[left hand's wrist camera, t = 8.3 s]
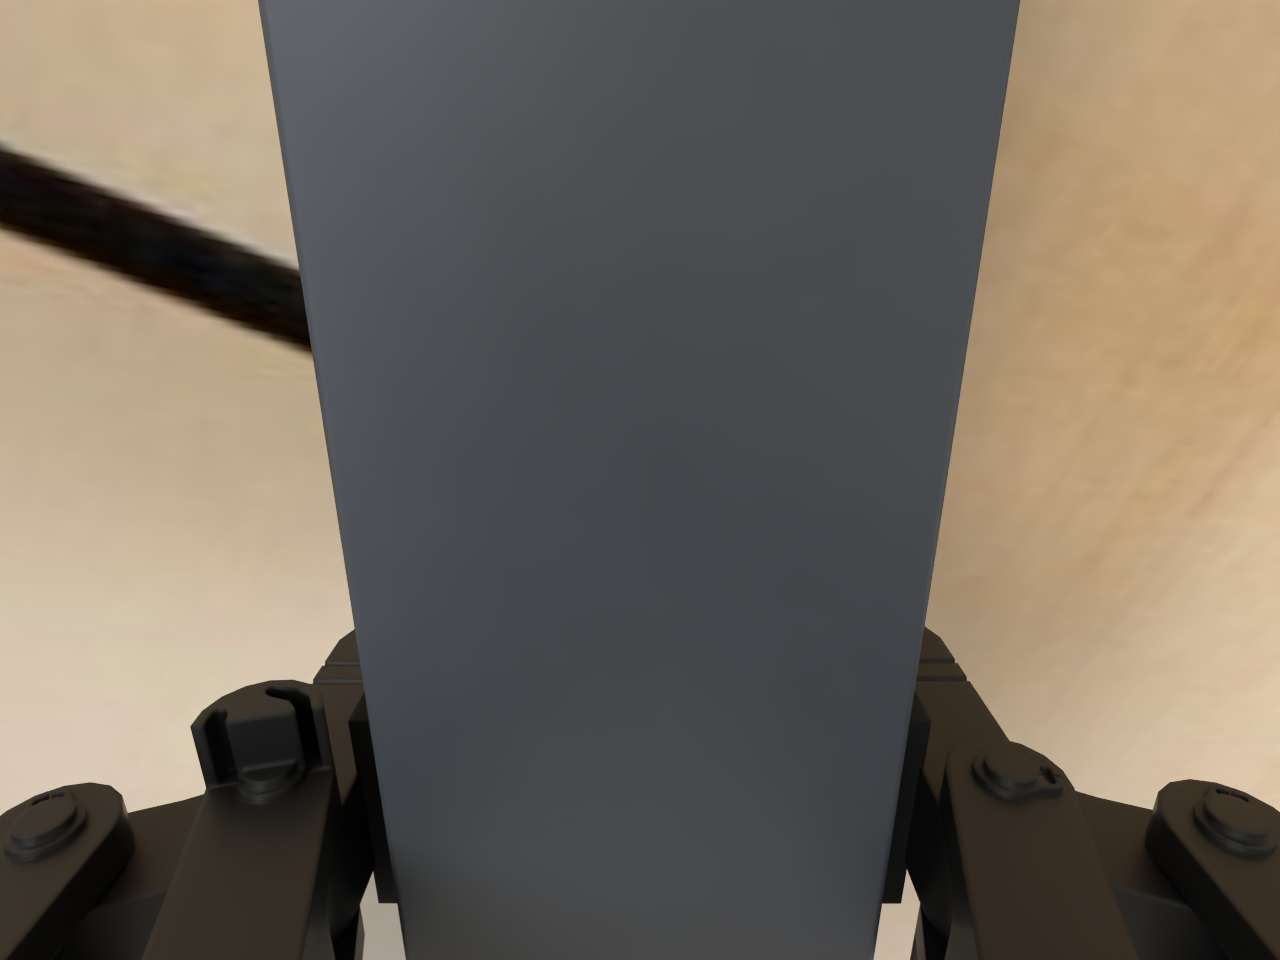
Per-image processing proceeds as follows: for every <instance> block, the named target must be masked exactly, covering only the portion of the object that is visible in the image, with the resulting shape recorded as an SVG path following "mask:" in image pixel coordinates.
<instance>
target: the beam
mask: <svg viewBox="0 0 1280 960" xmlns="http://www.w3.org/2000/svg"><path fill="white" fill-rule="evenodd" d="M258 3H259V9H260V16H261V22H262V29H263V35H264V42H265V48H266V55H267V61H268V68H269V74H270V81H271V87H272V94H273V100H274V107H275V113H276V120H277V126H278V133H279V139H280V146H281V152H282V159H283V165H284V172H285V178H286V185H287V191H288V198H289V204H290V211H291V217H292V224H293V230H294V237H295V243H296V250H297V256H298V263H299V269H300V276H301V282H302V289H303V295H304V302H305V308H306V315H307V321H308V328H309V334H310V341H311V347H312V354H313V360H314V367H315V373H316V380H317V386H318V393H319V399H320V406H321V412H322V419H323V425H324V432H325V438H326V445H327V451H328V458H329V464H330V471H331V477H332V484H333V490H334V497H335V503H336V510H337V516H338V523H339V529H340V535H341V542H342V548H343V555H344V561H345V568H346V574H347V581H348V587H349V594H350V600H351V607H352V613H353V620H354V626H355V633H356V639H357V646H358V652H359V659H360V665H361V672H362V678H363V685H364V691H365V698H366V704H367V711H368V717H369V724H370V730H371V737H372V743H373V750H374V756H375V763H376V769H377V776H378V782H379V789H380V795H381V802H382V808H383V815H384V821H385V828H386V834H387V841H388V847H389V854H390V860H391V867H392V873H393V880H394V886H395V893H396V899H397V906H398V912H399V919H400V925H401V932H402V938H403V945H404V951H405V958H406V960H873V959H874V952H875V946H876V939H877V932H878V926H879V919H880V913H881V906H882V900H883V893H884V887H885V880H886V874H887V867H888V861H889V854H890V847H891V841H892V834H893V828H894V821H895V815H896V808H897V802H898V795H899V789H900V782H901V776H902V769H903V762H904V756H905V749H906V743H907V736H908V730H909V723H910V717H911V710H912V704H913V697H914V691H915V684H916V677H917V671H918V664H919V658H920V651H921V645H922V638H923V632H924V625H925V619H926V612H927V605H928V599H929V592H930V586H931V579H932V573H933V566H934V560H935V553H936V547H937V540H938V534H939V527H940V520H941V514H942V507H943V501H944V494H945V488H946V481H947V475H948V468H949V462H950V455H951V449H952V442H953V435H954V429H955V422H956V416H957V409H958V403H959V396H960V390H961V383H962V377H963V370H964V364H965V357H966V350H967V344H968V337H969V331H970V324H971V318H972V311H973V305H974V298H975V292H976V285H977V279H978V272H979V265H980V259H981V252H982V246H983V239H984V233H985V226H986V220H987V213H988V207H989V200H990V194H991V187H992V180H993V174H994V167H995V161H996V154H997V148H998V141H999V135H1000V128H1001V122H1002V115H1003V109H1004V102H1005V95H1006V89H1007V82H1008V76H1009V69H1010V63H1011V56H1012V50H1013V43H1014V37H1015V30H1016V24H1017V17H1018V10H1019V4H1020V0H258Z"/></svg>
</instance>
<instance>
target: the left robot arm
mask: <svg viewBox="0 0 1280 960" xmlns="http://www.w3.org/2000/svg"><path fill="white" fill-rule="evenodd" d="M190 727H191V731H192V735H193V738H194V742H195V746H196V750H197V754H198V758H199V762H200V765H201V769H202V773H203V777H204V781H205V785H206V791H205V793H204V794H203V795H200V796H196V797H193V798H190V799H186V800H183V801H179V802H174V803H170V804H165V805H161V806H157V807H152V808H148V809H143V810H139V811H135V812H130V813H127V810H126V807H125V803H124V800H123V797H122V795H121V794H120V793H119V792H117V791H116V790H115V789H114V788H113V787H112V786H109V785H103V784H97V783H83V784H76V785H68V786H63V787H60V788H57V789H54V790H51V791H47V792H45V793H42V794H39V795H36V796H34V797H32V798H30V799H28V800H26V801H25V802H23V803H21V804H19V805H17V806H15V807H13V808H11V809H10V810H8V811H6V812H5V813H4V814H2V815H1V816H0V960H363V950H364V939H365V932H364V925H363V919H362V913H361V908H360V903H361V901H362V898H363V896H364V893H365V890H366V888H367V885H368V883H369V880H370V878H371V875H372V873H374V879H375V885H376V891H377V897H378V903H397V899H396V893H395V886H394V880H393V873H392V867H391V860H390V854H389V847H388V841H387V834H386V828H385V821H384V815H383V808H382V802H381V795H380V789H379V782H378V776H377V769H376V763H375V756H374V750H373V743H372V737H371V730H370V724H369V717H368V711H367V704H366V698H365V691H364V685H363V678H362V672H361V665H360V659H359V652H358V646H357V639H356V633H355V629H354V630H353V631H351V632H350V633H349V634H347V635H346V636H345V637H343V638H342V639H340V640H339V642H338V643H337V645H336V646H335V648H334V649H333V651H332V652H331V654H330V655H329V657H328V658H327V660H326V661H325V666H322V667H321V669H320V670H319V672H318V673H317V675H316V676H315V678H314V679H313V684H308V683H304V682H300V681H296V680H272V681H266V682H262V683H258V684H254V685H249V686H245V687H243V688H241V689H239V690H236V691H234V692H232V693H229V694H227V695H225V696H223V697H221V698H220V699H218V700H217V701H215V702H214V703H213V704H211V705H210V706H208V707H207V708H206V709H204V710H203V711H202V712H201V713H200V715H199V716H198V717H197V719H196V720H195V721H194V722H193V724H192V725H191V726H190ZM906 870H908V873H909V875H910V878H911V880H912V883H913V885H914V888H915V891H916V893H917V896H918V898H919V901H920V908H919V913H918V919H917V924H916V930H915V935H914V941H913V946H912V952H911V957H910V960H1280V812H1279V811H1277V810H1276V809H1275V808H1274V807H1272V806H1270V805H1268V804H1266V803H1264V802H1262V801H1260V800H1258V799H1257V798H1255V797H1253V796H1251V795H1249V794H1247V793H1245V792H1242V791H1239V790H1237V789H1234V788H1230V787H1228V786H1224V785H1221V784H1218V783H1214V782H1207V781H1199V780H1192V779H1188V780H1182V781H1176V782H1170V783H1168V784H1167V785H1166V786H1165V787H1164V788H1163V789H1161V790H1160V791H1159V792H1158V795H1157V798H1156V801H1155V804H1154V808H1153V810H1150V809H1146V808H1142V807H1137V806H1133V805H1128V804H1124V803H1119V802H1115V801H1111V800H1106V799H1102V798H1097V797H1094V796H1090V795H1087V794H1084V793H1080V792H1077V791H1075V789H1074V787H1073V786H1072V784H1071V782H1070V781H1069V779H1068V778H1067V776H1066V775H1065V773H1064V772H1063V770H1061V769H1060V768H1059V767H1058V766H1056V765H1055V764H1054V763H1053V762H1052V761H1050V760H1049V759H1048V758H1047V757H1045V756H1044V755H1042V754H1040V753H1038V752H1036V751H1034V750H1032V749H1030V748H1028V747H1026V746H1024V745H1022V744H1019V743H1015V742H1011V741H1009V739H1008V738H1007V736H1006V735H1005V733H1004V732H1003V731H1002V729H1001V728H1000V726H999V725H998V723H997V722H996V720H995V719H994V717H993V716H992V714H991V713H990V711H989V710H988V708H987V707H986V705H985V704H984V702H983V701H982V699H981V698H980V696H979V695H978V693H977V692H976V690H975V689H974V687H973V686H972V684H971V683H970V681H967V677H966V675H965V674H964V672H963V671H962V669H961V668H960V666H959V665H958V663H955V659H954V657H953V656H952V654H951V653H950V651H949V650H948V648H947V647H946V645H945V644H944V642H943V641H942V639H941V638H940V637H939V636H937V635H936V634H934V633H933V632H932V631H930V630H929V629H927V628H926V627H925V626H924V632H923V638H922V645H921V651H920V658H919V664H918V671H917V677H916V684H915V691H914V697H913V704H912V710H911V717H910V723H909V730H908V736H907V743H906V749H905V756H904V762H903V769H902V776H901V782H900V789H899V795H898V802H897V808H896V815H895V821H894V828H893V834H892V841H891V847H890V854H889V861H888V867H887V874H886V880H885V887H884V893H883V900H882V903H901V900H902V894H903V888H904V882H905V876H906Z"/></svg>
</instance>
